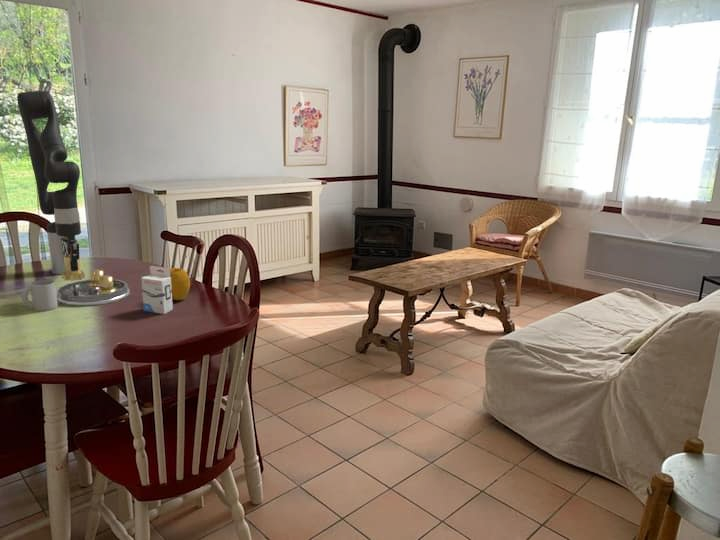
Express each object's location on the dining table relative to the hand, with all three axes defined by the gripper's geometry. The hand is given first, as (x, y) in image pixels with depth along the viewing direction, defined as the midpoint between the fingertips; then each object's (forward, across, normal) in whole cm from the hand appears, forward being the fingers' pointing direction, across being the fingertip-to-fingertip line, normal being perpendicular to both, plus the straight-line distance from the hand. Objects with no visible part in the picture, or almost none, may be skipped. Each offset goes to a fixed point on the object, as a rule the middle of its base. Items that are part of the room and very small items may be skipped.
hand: (72, 269), depth 192 cm
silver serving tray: (+11, 0, +6) cm, 13 cm away
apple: (+11, +21, +28) cm, 37 cm away
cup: (+11, +4, -12) cm, 17 cm away
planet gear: (+3, 0, 0) cm, 3 cm away
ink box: (+11, +29, +18) cm, 36 cm away
